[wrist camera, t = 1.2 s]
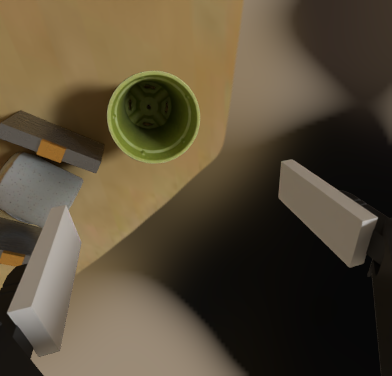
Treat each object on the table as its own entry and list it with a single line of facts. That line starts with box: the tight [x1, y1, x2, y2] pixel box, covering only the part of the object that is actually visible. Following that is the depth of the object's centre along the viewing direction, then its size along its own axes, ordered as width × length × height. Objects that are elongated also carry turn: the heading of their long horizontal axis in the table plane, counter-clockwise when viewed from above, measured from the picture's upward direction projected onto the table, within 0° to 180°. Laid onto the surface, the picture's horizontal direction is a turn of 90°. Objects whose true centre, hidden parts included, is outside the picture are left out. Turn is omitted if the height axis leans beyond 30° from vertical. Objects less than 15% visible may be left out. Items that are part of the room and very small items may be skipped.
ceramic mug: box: [0, 152, 83, 228], centre depth 33 cm, size 11×8×8 cm
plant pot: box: [107, 71, 200, 164], centre depth 30 cm, size 9×9×9 cm
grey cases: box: [0, 111, 104, 266], centre depth 33 cm, size 10×17×6 cm, turn 150°
